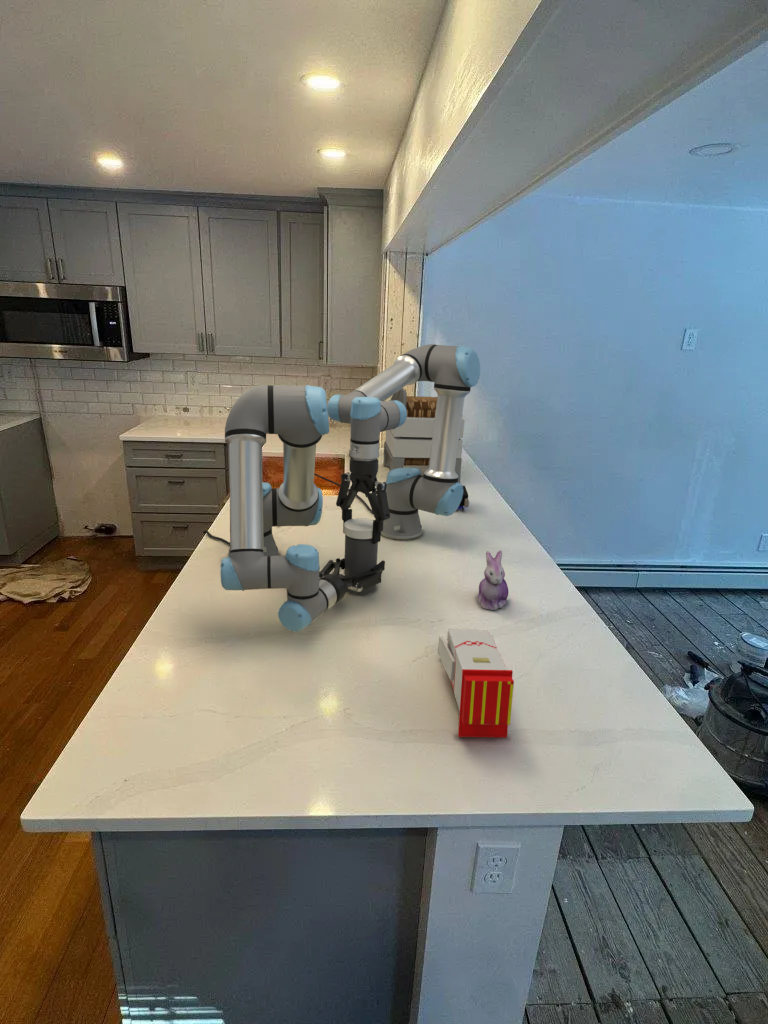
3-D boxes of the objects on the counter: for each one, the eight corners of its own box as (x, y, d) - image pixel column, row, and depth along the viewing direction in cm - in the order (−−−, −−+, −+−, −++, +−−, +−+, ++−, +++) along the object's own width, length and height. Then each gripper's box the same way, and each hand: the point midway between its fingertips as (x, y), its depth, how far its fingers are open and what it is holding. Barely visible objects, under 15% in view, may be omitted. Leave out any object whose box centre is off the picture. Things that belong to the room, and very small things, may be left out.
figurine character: (468, 516, 224) (463, 500, 237) (471, 498, 221) (465, 483, 234) (452, 515, 224) (447, 499, 237) (453, 498, 220) (449, 482, 234)
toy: (488, 613, 130) (523, 677, 101) (484, 667, 133) (517, 744, 104) (435, 612, 130) (455, 676, 101) (432, 666, 133) (451, 743, 103)
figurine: (490, 614, 149) (496, 562, 144) (467, 597, 157) (472, 547, 152) (518, 607, 153) (525, 556, 148) (494, 591, 162) (500, 542, 156)
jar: (337, 586, 161) (338, 525, 155) (362, 577, 166) (364, 519, 160) (357, 598, 154) (359, 536, 148) (382, 589, 160) (385, 528, 154)
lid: (379, 526, 159) (380, 518, 159) (379, 540, 150) (379, 531, 149) (345, 525, 159) (345, 517, 159) (342, 538, 150) (342, 530, 149)
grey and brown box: (382, 463, 289) (386, 382, 275) (445, 464, 293) (451, 384, 279) (390, 482, 257) (394, 392, 243) (460, 483, 261) (468, 394, 247)
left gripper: (290, 595, 149) (335, 564, 168) (362, 617, 140) (402, 582, 159) (290, 569, 146) (336, 540, 165) (363, 590, 137) (403, 557, 156)
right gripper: (323, 452, 151) (322, 530, 159) (389, 468, 138) (385, 552, 146) (342, 447, 157) (340, 523, 164) (407, 463, 144) (402, 544, 152)
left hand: (368, 561), depth 162 cm, fingers closed on jar, 9 cm apart
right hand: (361, 537), depth 155 cm, fingers closed on lid, 10 cm apart
